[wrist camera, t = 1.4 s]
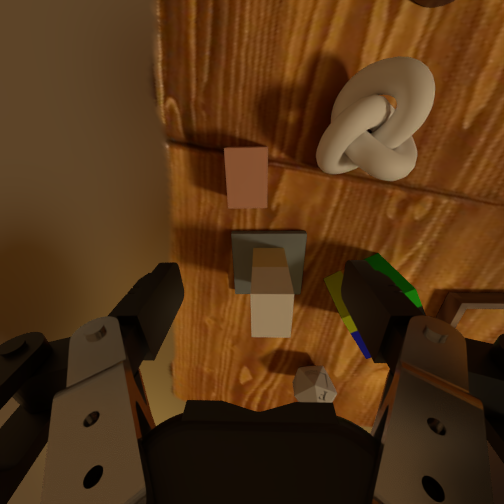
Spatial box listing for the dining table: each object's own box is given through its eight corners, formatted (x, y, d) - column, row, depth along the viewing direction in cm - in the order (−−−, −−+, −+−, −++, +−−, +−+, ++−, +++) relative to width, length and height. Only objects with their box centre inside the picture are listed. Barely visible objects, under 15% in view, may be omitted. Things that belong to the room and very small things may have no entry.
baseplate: (232, 231, 35) (231, 234, 34) (305, 230, 35) (307, 233, 34) (235, 289, 41) (235, 293, 40) (299, 290, 41) (300, 294, 39)
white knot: (426, 115, 27) (494, 105, 19) (359, 196, 32) (391, 215, 24) (358, 58, 25) (404, 20, 17) (297, 155, 30) (311, 160, 22)
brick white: (252, 266, 30) (250, 293, 25) (288, 266, 30) (294, 294, 25) (253, 305, 33) (251, 336, 28) (285, 305, 33) (290, 337, 28)
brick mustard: (253, 247, 35) (252, 266, 30) (283, 247, 35) (288, 266, 30) (254, 282, 39) (253, 305, 33) (281, 282, 38) (285, 305, 33)
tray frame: (448, 292, 40) (462, 303, 37) (582, 293, 39) (606, 304, 36) (405, 377, 51) (413, 390, 49) (508, 379, 50) (522, 393, 48)
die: (335, 360, 49) (351, 408, 41) (313, 381, 53) (323, 429, 44) (303, 348, 48) (313, 395, 39) (283, 370, 52) (288, 418, 43)
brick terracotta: (230, 146, 30) (223, 148, 25) (266, 146, 30) (267, 147, 24) (233, 197, 33) (228, 208, 28) (265, 197, 33) (267, 208, 28)
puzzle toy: (344, 313, 43) (366, 359, 34) (323, 278, 39) (341, 318, 30) (395, 292, 40) (433, 336, 31) (377, 252, 37) (415, 288, 28)
